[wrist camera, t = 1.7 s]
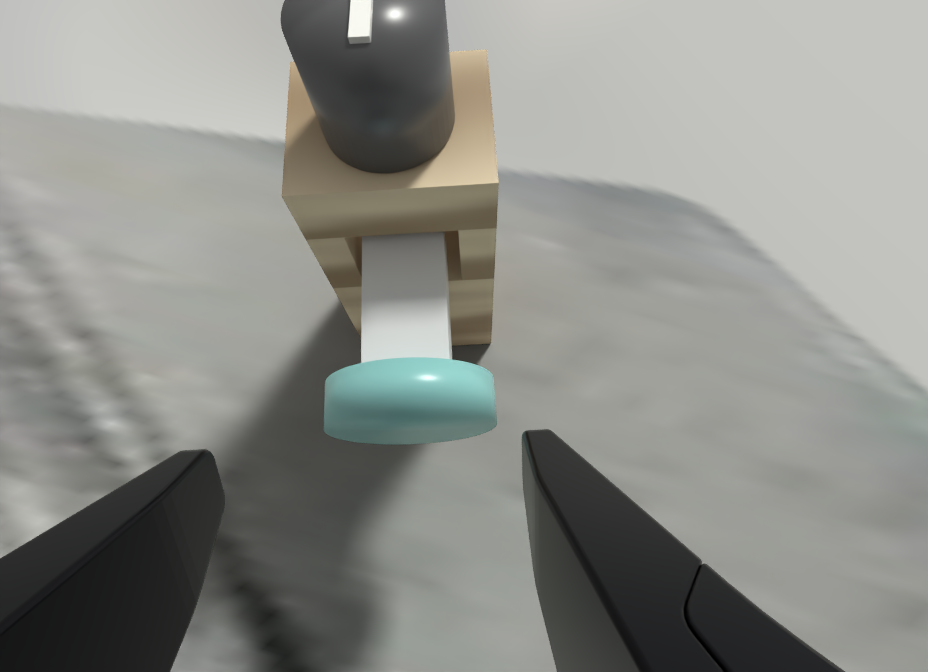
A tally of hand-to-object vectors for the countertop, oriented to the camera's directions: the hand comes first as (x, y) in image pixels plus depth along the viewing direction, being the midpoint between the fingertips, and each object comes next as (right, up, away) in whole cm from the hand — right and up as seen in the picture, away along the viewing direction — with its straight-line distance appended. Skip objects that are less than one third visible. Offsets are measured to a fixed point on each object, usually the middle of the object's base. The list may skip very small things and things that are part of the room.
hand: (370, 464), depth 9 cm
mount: (0, +3, +16) cm, 16 cm away
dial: (0, +7, +5) cm, 9 cm away
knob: (0, +1, +9) cm, 9 cm away
